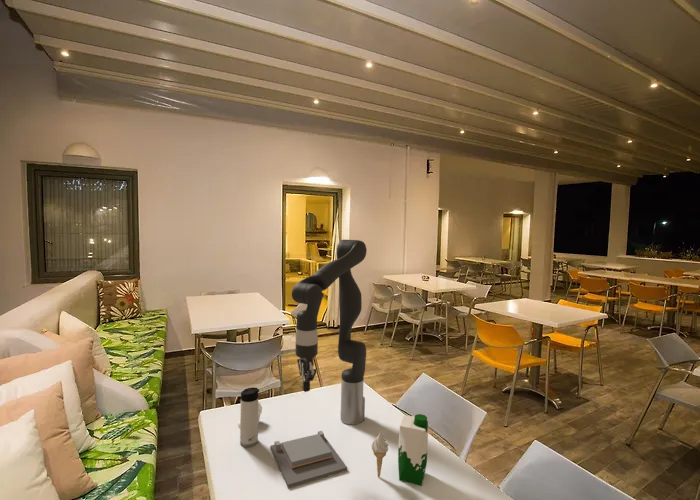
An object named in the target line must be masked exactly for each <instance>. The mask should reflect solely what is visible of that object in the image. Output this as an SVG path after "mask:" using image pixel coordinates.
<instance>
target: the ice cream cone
mask: <svg viewBox="0 0 700 500" xmlns="http://www.w3.org/2000/svg"><path fill="white" fill-rule="evenodd" d="M378 433H379V434H378V435H377V437H375V439H373V441H372V443H371V445H370V446H371V450H372V452H373V455H374V457H376V471H377V478H380V477H381V472H382V464H383V459H384V457H386V456H387V452H388V450H389V444H388V442H386V439H385V438H384V436H383V435H382V432H381V431H380V432H378Z"/></svg>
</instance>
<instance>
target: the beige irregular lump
mask: <svg viewBox="0 0 700 500" xmlns="http://www.w3.org/2000/svg"><path fill="white" fill-rule="evenodd" d="M262 410H263V407H262V405H261V402H260V401H258V424H260V418H261V415H262V413H263V412H262ZM237 427H238V429H239V430H240V420H239V421H238V424H237Z"/></svg>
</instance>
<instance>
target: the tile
mask: <svg viewBox="0 0 700 500" xmlns="http://www.w3.org/2000/svg"><path fill="white" fill-rule="evenodd" d="M281 443H282V450H283V452H284V454H285V456H286V458H287V460H288V462H289V464H290V466H291V468H295V467H298V466H302V465H306V464H309V463H313V462H317V461H320V460H324V459H328V458H331V457H332V451H331V450H330V449H329V447H328V446H327V444H326V443H325V442H324V440H323V439H322V437H321V436H320V435H319V434H318V433H316V434H312V435H307V436H304V437H300V438H296V439H291V440H287V441H282V442H281Z"/></svg>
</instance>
